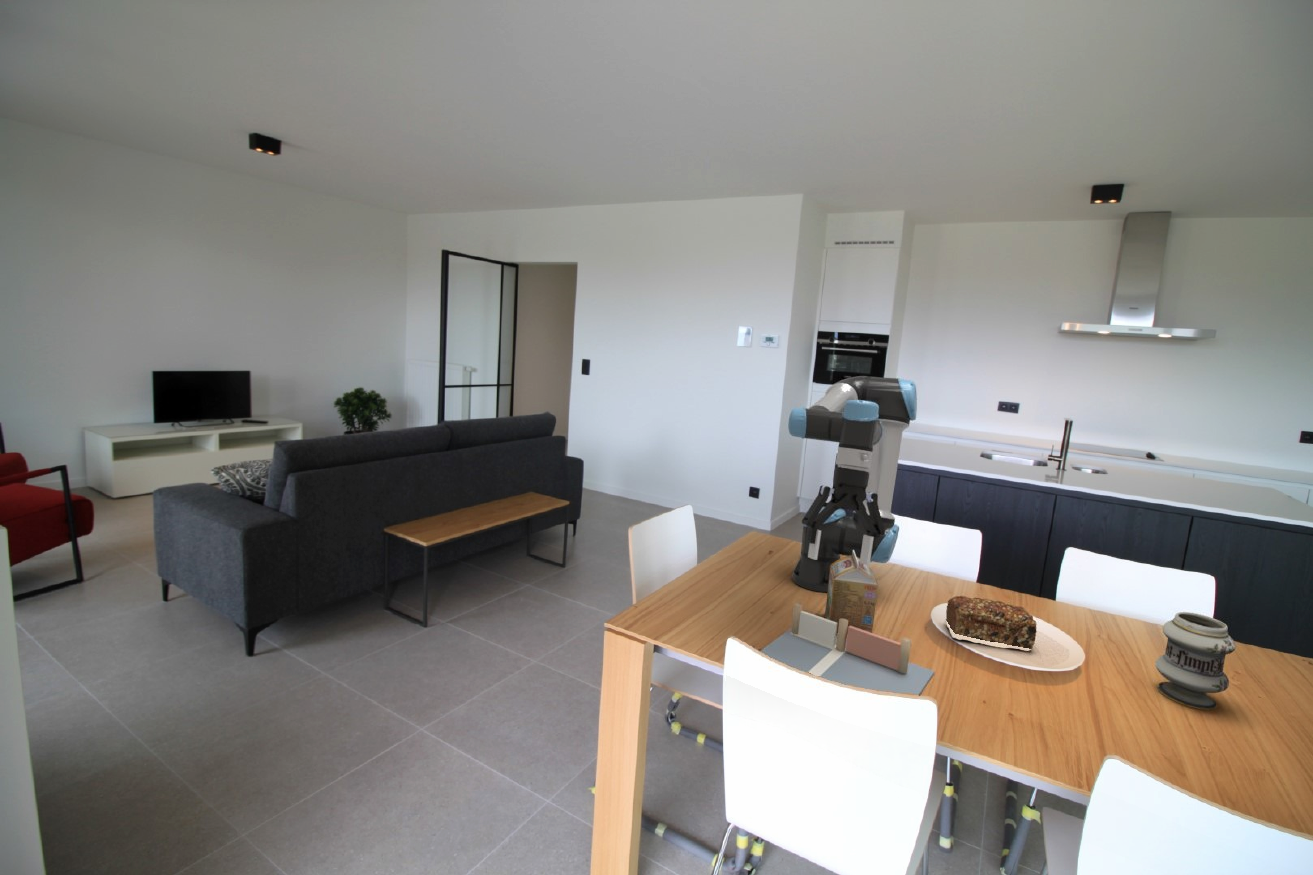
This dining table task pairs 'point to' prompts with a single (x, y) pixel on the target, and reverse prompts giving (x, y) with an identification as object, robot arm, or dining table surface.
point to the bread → (991, 621)
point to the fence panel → (879, 648)
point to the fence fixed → (819, 628)
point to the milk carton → (851, 593)
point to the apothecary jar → (1194, 659)
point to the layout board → (845, 665)
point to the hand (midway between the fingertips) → (838, 561)
